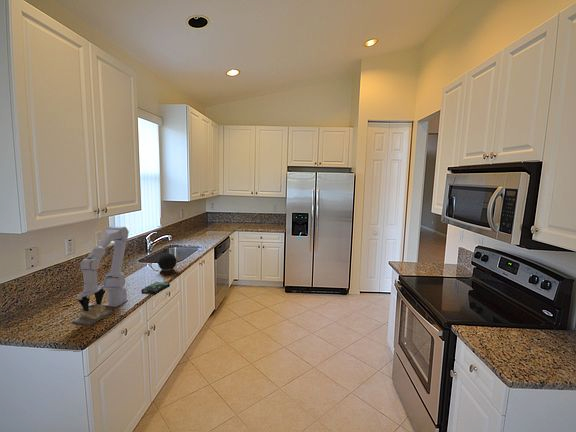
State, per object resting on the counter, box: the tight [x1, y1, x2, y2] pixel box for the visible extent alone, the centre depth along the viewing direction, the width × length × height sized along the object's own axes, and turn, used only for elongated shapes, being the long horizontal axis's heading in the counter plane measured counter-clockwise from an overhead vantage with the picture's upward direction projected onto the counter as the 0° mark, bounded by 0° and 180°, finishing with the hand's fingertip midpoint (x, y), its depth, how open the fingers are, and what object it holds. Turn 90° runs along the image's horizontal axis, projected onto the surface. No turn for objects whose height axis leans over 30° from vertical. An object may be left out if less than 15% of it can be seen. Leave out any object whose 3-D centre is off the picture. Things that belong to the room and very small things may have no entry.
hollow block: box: [79, 302, 106, 319], centre depth 150 cm, size 6×9×5 cm, turn 78°
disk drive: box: [141, 281, 171, 295], centre depth 190 cm, size 10×3×15 cm
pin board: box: [72, 309, 113, 326], centre depth 150 cm, size 14×10×5 cm
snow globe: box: [157, 252, 178, 276], centre depth 223 cm, size 13×13×15 cm
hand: (92, 307), depth 150 cm, fingers open, 7 cm apart
